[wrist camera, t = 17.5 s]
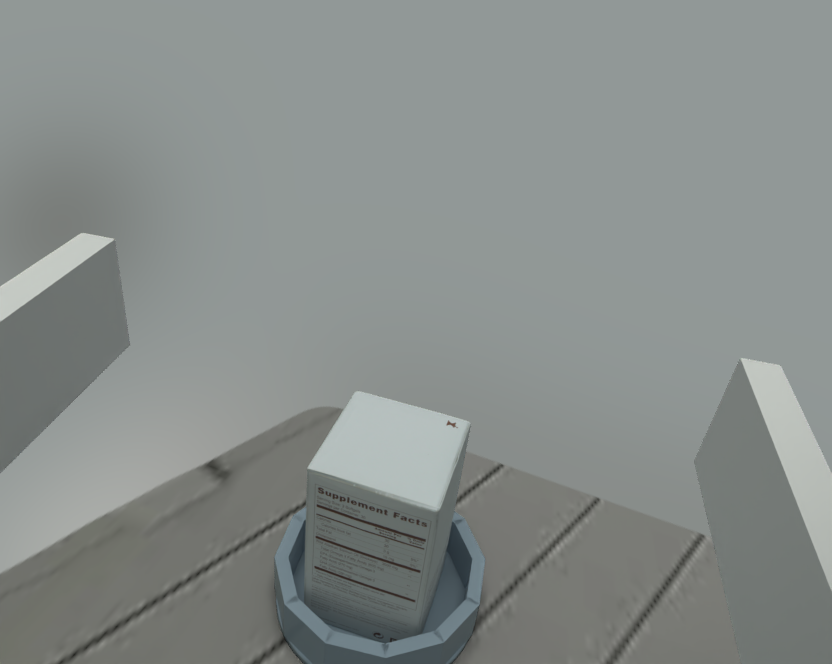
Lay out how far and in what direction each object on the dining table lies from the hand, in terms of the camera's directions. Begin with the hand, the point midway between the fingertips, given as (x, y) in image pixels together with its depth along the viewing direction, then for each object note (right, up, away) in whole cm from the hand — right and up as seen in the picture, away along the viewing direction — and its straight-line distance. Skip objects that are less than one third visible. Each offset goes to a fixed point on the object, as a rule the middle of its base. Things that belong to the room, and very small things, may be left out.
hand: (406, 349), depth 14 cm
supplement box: (-2, -16, +29) cm, 34 cm away
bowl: (-2, -17, +29) cm, 34 cm away
